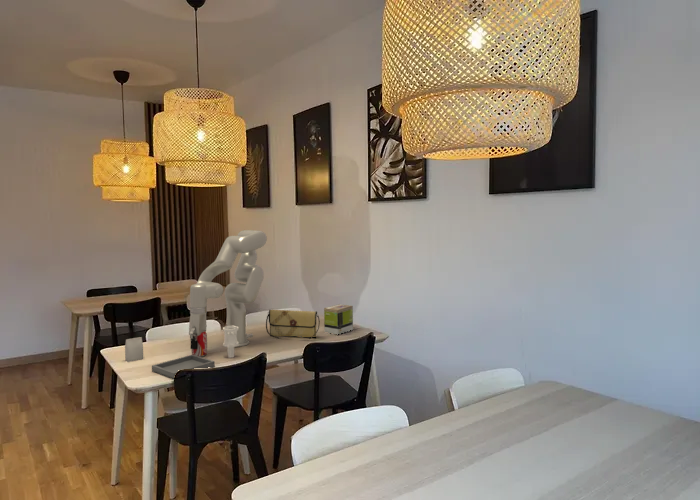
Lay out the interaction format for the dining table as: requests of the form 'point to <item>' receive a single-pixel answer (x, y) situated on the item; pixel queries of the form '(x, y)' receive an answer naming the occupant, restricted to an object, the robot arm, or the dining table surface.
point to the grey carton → (134, 349)
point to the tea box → (338, 319)
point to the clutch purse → (292, 323)
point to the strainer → (230, 339)
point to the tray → (181, 365)
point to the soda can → (201, 345)
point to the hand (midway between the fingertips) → (198, 346)
